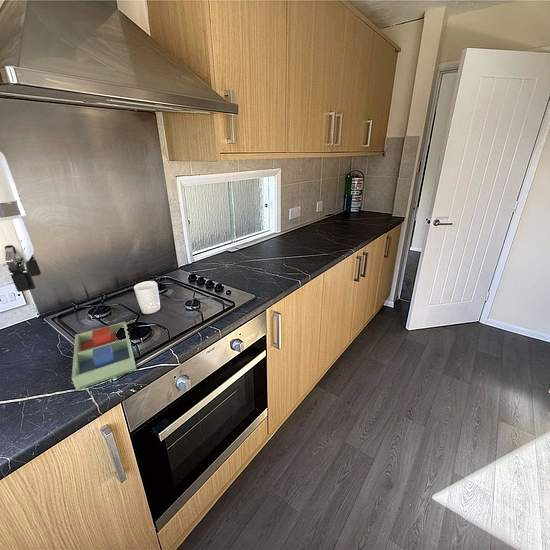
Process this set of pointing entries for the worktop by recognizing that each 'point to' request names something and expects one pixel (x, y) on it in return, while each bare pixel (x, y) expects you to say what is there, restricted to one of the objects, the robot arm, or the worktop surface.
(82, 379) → the tray
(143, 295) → the white cup
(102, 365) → the blue block
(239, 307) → the worktop surface
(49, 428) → the worktop surface
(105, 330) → the red block
